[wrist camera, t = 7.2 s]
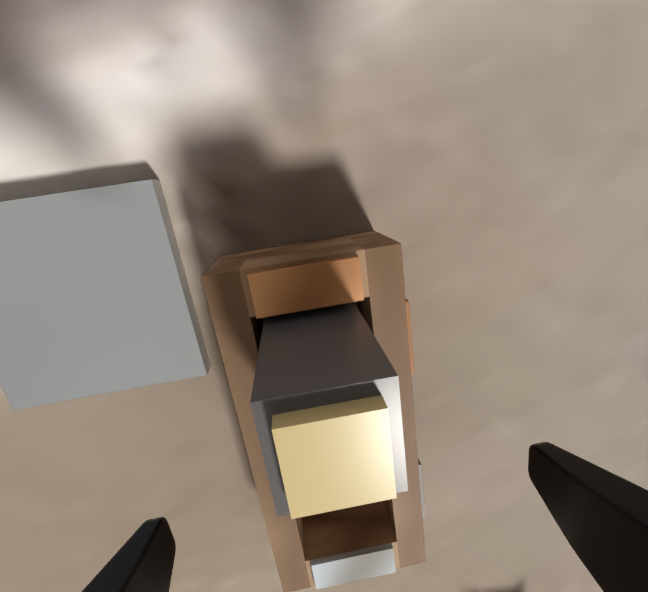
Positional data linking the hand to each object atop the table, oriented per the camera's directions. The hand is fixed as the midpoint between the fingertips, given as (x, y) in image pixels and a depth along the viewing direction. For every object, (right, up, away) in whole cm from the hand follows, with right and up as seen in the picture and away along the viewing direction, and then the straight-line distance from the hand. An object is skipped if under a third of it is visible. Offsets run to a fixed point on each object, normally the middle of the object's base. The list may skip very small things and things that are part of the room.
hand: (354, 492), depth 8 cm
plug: (-1, +3, +10) cm, 11 cm away
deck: (-13, +5, +9) cm, 16 cm away
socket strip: (-1, -1, +12) cm, 12 cm away
